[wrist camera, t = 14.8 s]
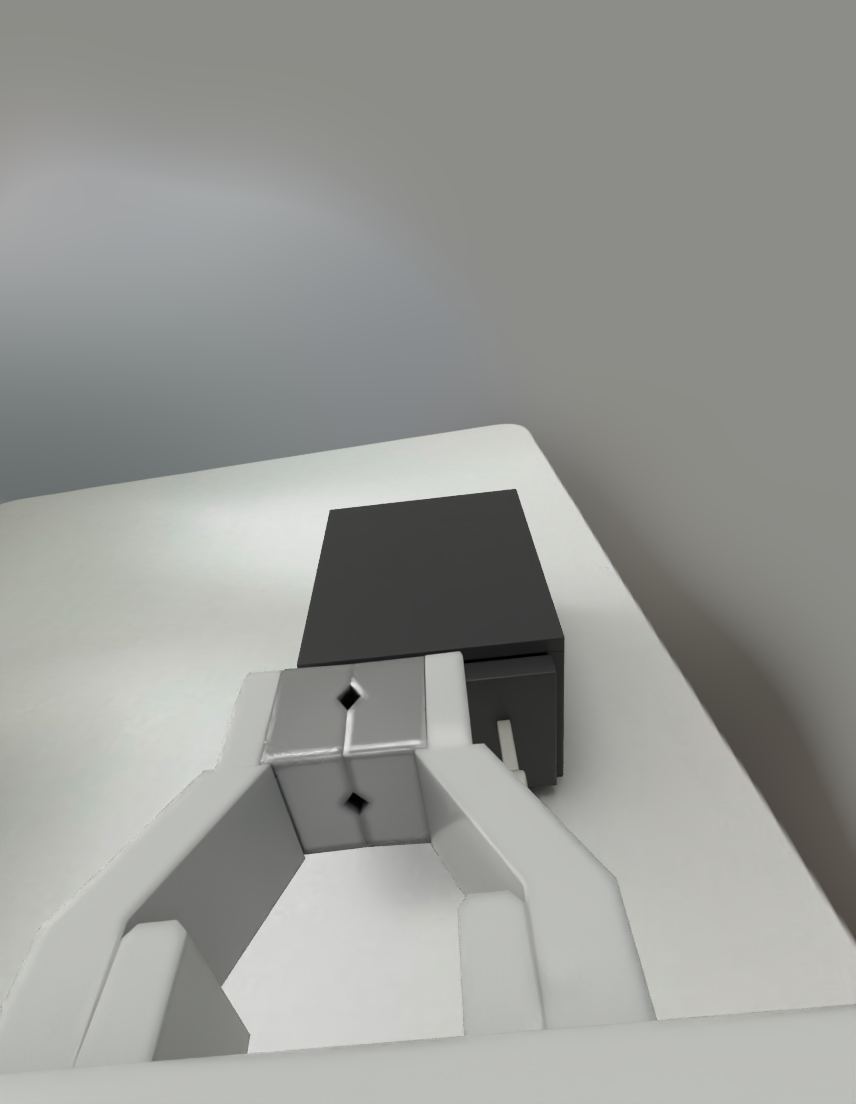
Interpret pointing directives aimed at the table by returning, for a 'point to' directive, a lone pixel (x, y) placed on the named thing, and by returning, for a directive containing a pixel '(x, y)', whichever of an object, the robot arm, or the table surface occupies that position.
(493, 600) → the dark grey drawer cabinet
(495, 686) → the black drawer
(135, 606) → the table surface
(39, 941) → the robot arm
